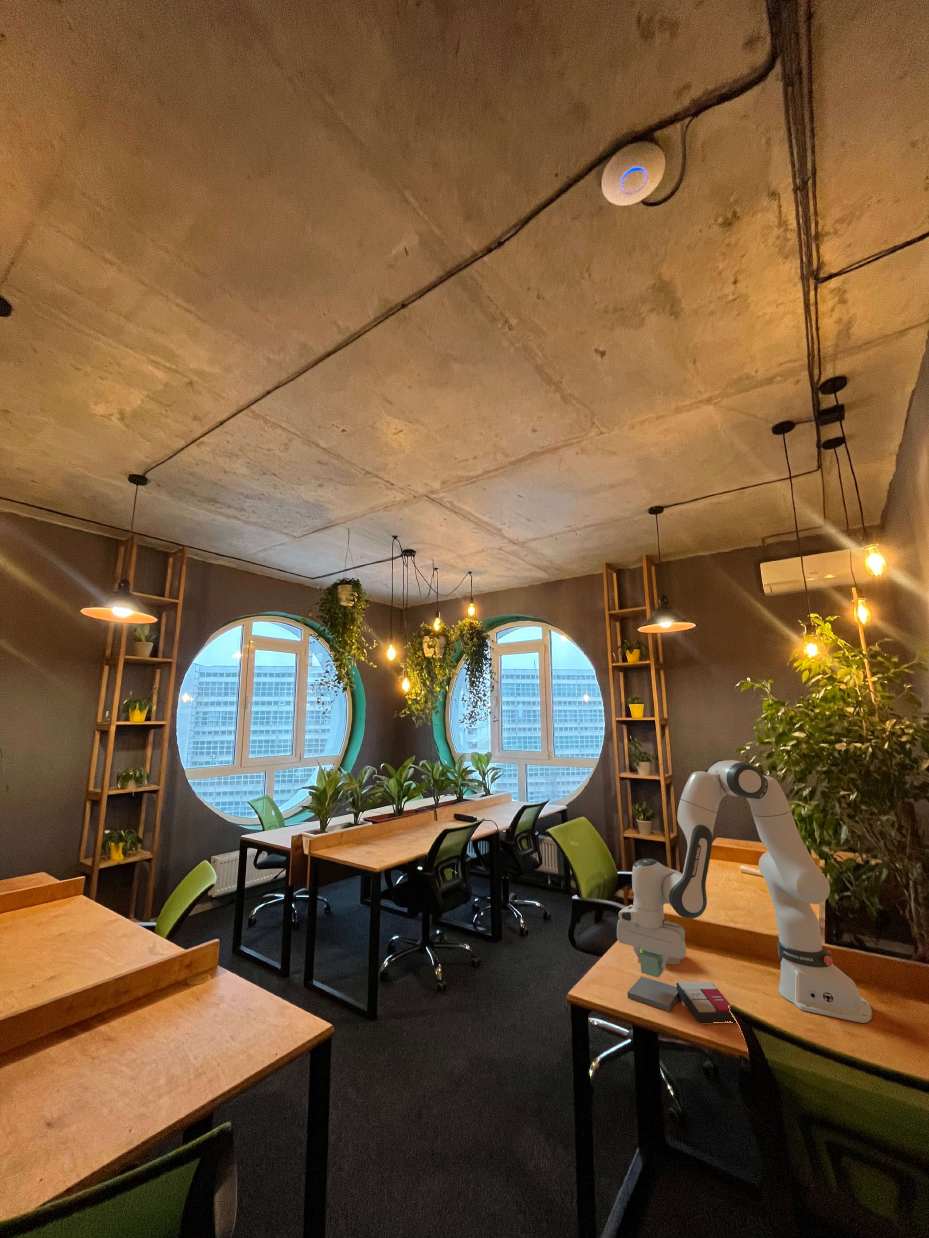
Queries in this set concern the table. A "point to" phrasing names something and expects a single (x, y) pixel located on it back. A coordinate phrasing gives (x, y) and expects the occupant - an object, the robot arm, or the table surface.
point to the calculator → (704, 1002)
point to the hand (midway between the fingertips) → (652, 966)
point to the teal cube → (651, 963)
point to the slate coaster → (654, 993)
